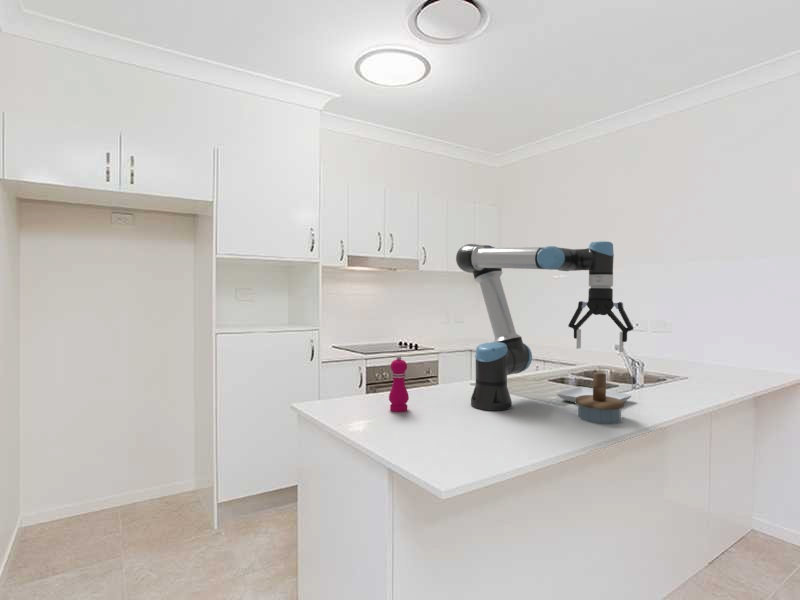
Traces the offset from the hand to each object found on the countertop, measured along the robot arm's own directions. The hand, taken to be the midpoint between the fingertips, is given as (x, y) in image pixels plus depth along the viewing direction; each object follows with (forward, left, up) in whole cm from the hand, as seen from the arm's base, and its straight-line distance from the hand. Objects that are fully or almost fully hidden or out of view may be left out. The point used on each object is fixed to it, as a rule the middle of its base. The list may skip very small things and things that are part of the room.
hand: (599, 350), depth 155 cm
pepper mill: (-62, -31, -24) cm, 73 cm away
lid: (0, 0, -18) cm, 18 cm away
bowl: (0, 0, -23) cm, 23 cm away
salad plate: (-7, +24, -24) cm, 35 cm away
